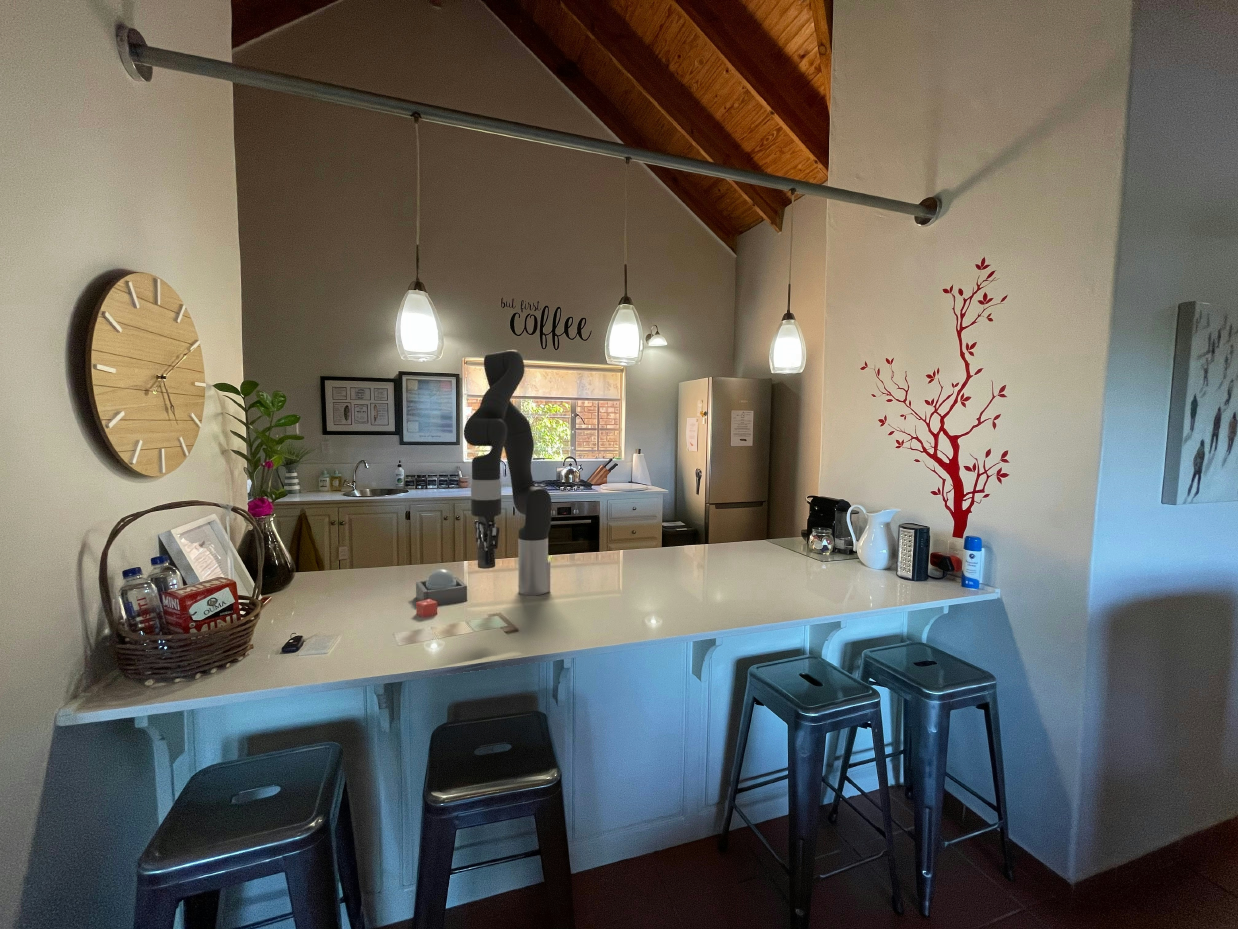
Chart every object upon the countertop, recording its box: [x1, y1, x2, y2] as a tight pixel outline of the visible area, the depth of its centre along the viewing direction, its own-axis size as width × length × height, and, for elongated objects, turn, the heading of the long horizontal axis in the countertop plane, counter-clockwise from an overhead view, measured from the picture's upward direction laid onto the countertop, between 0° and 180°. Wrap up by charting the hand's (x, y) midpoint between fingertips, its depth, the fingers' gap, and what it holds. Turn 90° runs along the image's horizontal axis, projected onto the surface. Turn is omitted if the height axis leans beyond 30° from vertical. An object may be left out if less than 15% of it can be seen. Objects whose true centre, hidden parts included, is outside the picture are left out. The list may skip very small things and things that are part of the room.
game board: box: [392, 611, 520, 646], centre depth 137 cm, size 30×14×1 cm, turn 121°
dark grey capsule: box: [477, 541, 496, 570], centre depth 140 cm, size 4×4×7 cm
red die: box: [415, 599, 438, 618], centre depth 148 cm, size 4×4×4 cm
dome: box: [426, 568, 456, 591], centre depth 164 cm, size 9×9×8 cm
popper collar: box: [415, 576, 468, 607], centre depth 164 cm, size 12×12×4 cm
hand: (486, 562), depth 141 cm, fingers closed on dark grey capsule, 4 cm apart
